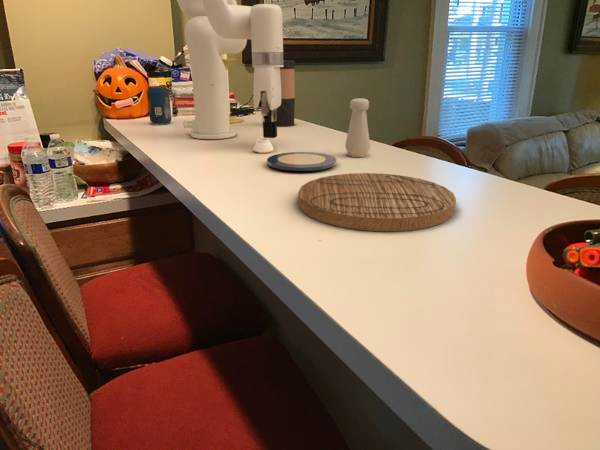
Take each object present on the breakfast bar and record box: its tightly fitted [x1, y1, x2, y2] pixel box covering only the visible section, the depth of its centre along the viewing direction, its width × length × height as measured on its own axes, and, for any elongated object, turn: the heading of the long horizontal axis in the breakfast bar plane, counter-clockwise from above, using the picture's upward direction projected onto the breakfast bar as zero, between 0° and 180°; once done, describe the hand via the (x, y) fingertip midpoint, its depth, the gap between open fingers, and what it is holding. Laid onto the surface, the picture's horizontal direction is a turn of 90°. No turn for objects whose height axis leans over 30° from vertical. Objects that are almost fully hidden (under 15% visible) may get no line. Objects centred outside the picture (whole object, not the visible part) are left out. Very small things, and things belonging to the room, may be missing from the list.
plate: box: [266, 151, 337, 172], centre depth 102 cm, size 15×15×1 cm
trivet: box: [297, 172, 457, 232], centre depth 76 cm, size 25×25×2 cm
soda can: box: [146, 85, 172, 126], centre depth 156 cm, size 7×7×12 cm
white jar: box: [252, 137, 275, 154], centre depth 115 cm, size 5×3×5 cm
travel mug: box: [276, 59, 296, 127], centre depth 151 cm, size 8×8×20 cm
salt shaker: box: [345, 97, 371, 158], centre depth 109 cm, size 6×6×13 cm
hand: (270, 137), depth 119 cm, fingers closed
